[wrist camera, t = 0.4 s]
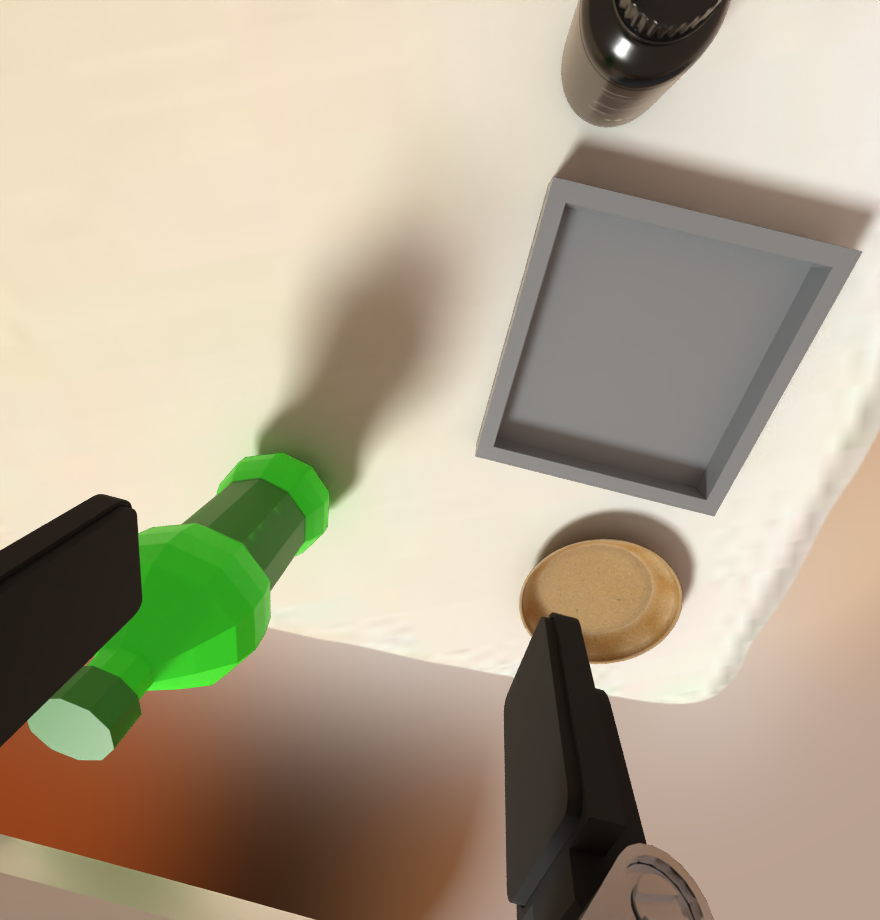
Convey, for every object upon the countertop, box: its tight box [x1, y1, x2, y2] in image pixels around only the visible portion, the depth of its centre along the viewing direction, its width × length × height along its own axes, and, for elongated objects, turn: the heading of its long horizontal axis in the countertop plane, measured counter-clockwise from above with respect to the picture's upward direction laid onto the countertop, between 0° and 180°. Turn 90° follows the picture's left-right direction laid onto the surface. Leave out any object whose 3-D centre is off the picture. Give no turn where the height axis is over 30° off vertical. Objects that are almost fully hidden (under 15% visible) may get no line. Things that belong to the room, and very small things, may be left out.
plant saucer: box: [519, 539, 683, 664], centre depth 43 cm, size 15×15×3 cm
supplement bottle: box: [561, 0, 731, 127], centre depth 23 cm, size 7×7×12 cm
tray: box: [475, 177, 862, 516], centre depth 34 cm, size 20×20×3 cm
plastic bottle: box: [27, 453, 329, 760], centre depth 32 cm, size 10×10×25 cm
